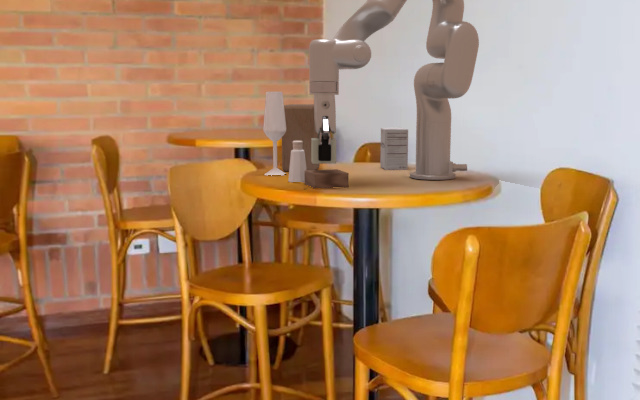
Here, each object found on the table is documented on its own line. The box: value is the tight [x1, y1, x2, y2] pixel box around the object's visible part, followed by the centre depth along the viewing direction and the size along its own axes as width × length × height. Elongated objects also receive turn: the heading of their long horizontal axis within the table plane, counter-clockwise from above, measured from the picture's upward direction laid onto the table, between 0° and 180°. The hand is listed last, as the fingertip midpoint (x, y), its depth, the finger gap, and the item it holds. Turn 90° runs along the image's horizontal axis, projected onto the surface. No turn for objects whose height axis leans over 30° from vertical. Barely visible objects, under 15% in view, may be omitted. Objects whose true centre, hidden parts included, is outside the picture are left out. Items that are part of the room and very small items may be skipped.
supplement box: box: [379, 126, 409, 171], centre depth 221 cm, size 7×7×13 cm
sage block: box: [311, 137, 337, 165], centre depth 184 cm, size 6×6×6 cm
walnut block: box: [304, 168, 350, 189], centre depth 185 cm, size 9×9×4 cm
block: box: [281, 103, 321, 172], centre depth 218 cm, size 10×10×20 cm
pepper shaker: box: [288, 141, 306, 183], centre depth 193 cm, size 5×5×11 cm
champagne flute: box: [262, 91, 287, 177], centre depth 207 cm, size 7×7×24 cm
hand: (323, 158), depth 184 cm, fingers closed on sage block, 6 cm apart
